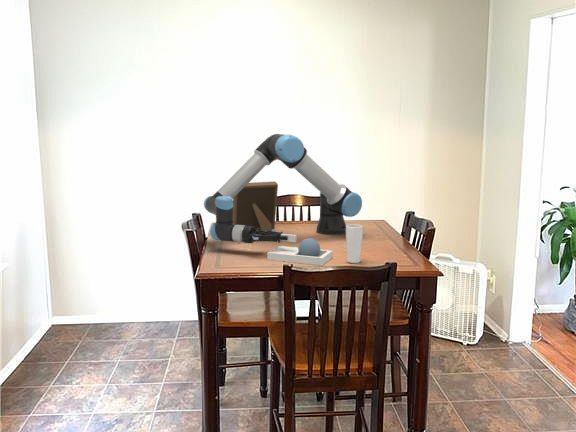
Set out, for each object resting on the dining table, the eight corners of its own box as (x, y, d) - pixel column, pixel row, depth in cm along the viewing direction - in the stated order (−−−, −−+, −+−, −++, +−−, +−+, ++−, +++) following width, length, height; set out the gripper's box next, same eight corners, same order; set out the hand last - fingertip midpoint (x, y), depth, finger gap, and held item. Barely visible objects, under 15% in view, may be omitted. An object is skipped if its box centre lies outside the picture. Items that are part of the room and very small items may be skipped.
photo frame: (231, 230, 299) (230, 181, 294) (271, 227, 306) (271, 179, 301) (239, 236, 285) (238, 186, 280) (281, 233, 293) (281, 183, 288)
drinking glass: (344, 260, 241) (344, 224, 238) (360, 259, 241) (360, 224, 239) (347, 264, 234) (347, 227, 231) (363, 263, 235) (364, 227, 232)
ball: (309, 236, 247) (315, 256, 247) (291, 243, 242) (298, 263, 242) (320, 234, 239) (327, 255, 239) (302, 241, 234) (309, 262, 235)
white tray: (267, 259, 242) (267, 252, 241) (279, 252, 254) (279, 245, 253) (322, 265, 233) (322, 258, 232) (332, 257, 244) (332, 250, 244)
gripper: (251, 239, 258) (301, 243, 249) (238, 245, 246) (289, 250, 237) (251, 222, 256) (301, 226, 247) (237, 228, 245) (289, 232, 236)
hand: (295, 238), depth 242 cm, fingers closed
